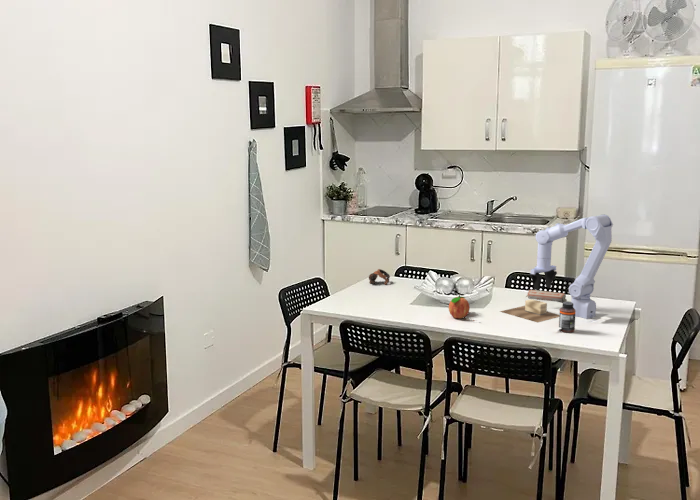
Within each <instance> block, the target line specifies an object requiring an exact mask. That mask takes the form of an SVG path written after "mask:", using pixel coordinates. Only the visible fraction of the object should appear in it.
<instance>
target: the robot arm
mask: <svg viewBox="0 0 700 500" xmlns="http://www.w3.org/2000/svg"><path fill="white" fill-rule="evenodd" d="M613 225H614V224H613V221H612V219H611V217H610V216H609V215H607V214H600V215H591V216H588V217H587V216H586V217H581V218H580V219H576V220H575V221H572V222H571V223H568V224H564V223H560V222H557V223H555V224H554V225H553V226H551V227H550V226H547V227H546V229H540V230H538V231H537V232H536V233H535V241H536V243H537V252H536V253H537V255H536V266H534V267H533V268H531V269H530V272H529V277H530V279H531V282H532V285H533V290H538V291H540V288H541V282H542V279H543V275H542V274H541V273H543V274H544V278H545V279H544V280H545V288H548V289H550V288H552V284H553V283H554V279H555V277H556V276H557V275H558V271H557V266H556V265H551V263H552V249H553V247H552V246H553V242H554V241H556V240H557V241H558V240H561V239H563V238H565V237H567V236H568V235H569V233H570V232H573V231H576V230H580V229H584V230H587V231H588V233H590V234H591V235H592V237H593V238H594V240H595V243H594V244H593V247H592V249H591V251H590V253H589V256H588V257H587V260H586V262H585V264H584V266H583V267H582V269H581V272H580V274H579V275H578V276H577V277H576V278H575V279H574V282H572V283H571V284H570V285H569V287H568V294H569V295H570V297H571V301H570V302H572V303H573V308H574V309H575V310H576V313H575V318H581V319H584V320H588V319H593V318H596V317H597V316H596V315H597V302H596V301H595V300H592V299H591V294H593V292H594V289H595V288H594V286H595V283H596V280H595V277H596V275H597V273H598V270H599V268H600V266H601V264H602V262H603V260H604V258H605V256H606V253H607V252H608V249H609V247H610V245H611V243H612V242H613V241H612V239H613V238H612V227H613Z"/></svg>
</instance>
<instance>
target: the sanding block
mask: <svg viewBox="0 0 700 500" xmlns="http://www.w3.org/2000/svg"><path fill="white" fill-rule="evenodd" d="M524 304H525V305H524V306H525V311H526V312H530V313H533V314H537V315H544V314H546V313H547V312H548V310H547V309H548V308H547V307H548V303H547V302H544V301H542V300H537V299H527V300H525V303H524Z"/></svg>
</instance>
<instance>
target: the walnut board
mask: <svg viewBox="0 0 700 500" xmlns="http://www.w3.org/2000/svg"><path fill="white" fill-rule="evenodd" d="M499 312H500V313H503V314H506V315H507V314H508V315H511V316H514V317H517V318H521V319H523V320H528V321H531V322H534V323H542V322H545V321H549V320H553V319H557V318H559V316H560V314H557V313H553V312H550V311H547V313H546V314H544V315H537V314H533V313H530V312H526V311H525V305H522V306H518V307H513V308H509V309H505V310H500V311H499Z"/></svg>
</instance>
